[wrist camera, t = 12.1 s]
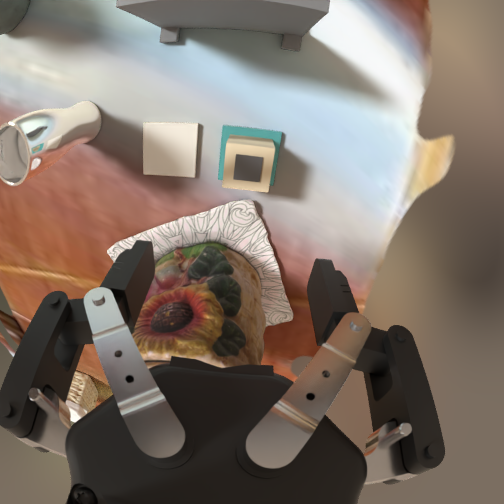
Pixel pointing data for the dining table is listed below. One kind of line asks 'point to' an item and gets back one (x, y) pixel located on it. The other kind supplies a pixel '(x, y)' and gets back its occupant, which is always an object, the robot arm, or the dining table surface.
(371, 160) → the dining table surface
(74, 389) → the storage basket
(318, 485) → the robot arm
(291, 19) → the screen
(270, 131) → the pad
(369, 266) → the dining table surface
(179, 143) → the pad
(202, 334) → the cookie jar
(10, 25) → the bottle
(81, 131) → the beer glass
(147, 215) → the dining table surface
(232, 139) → the beige cube
